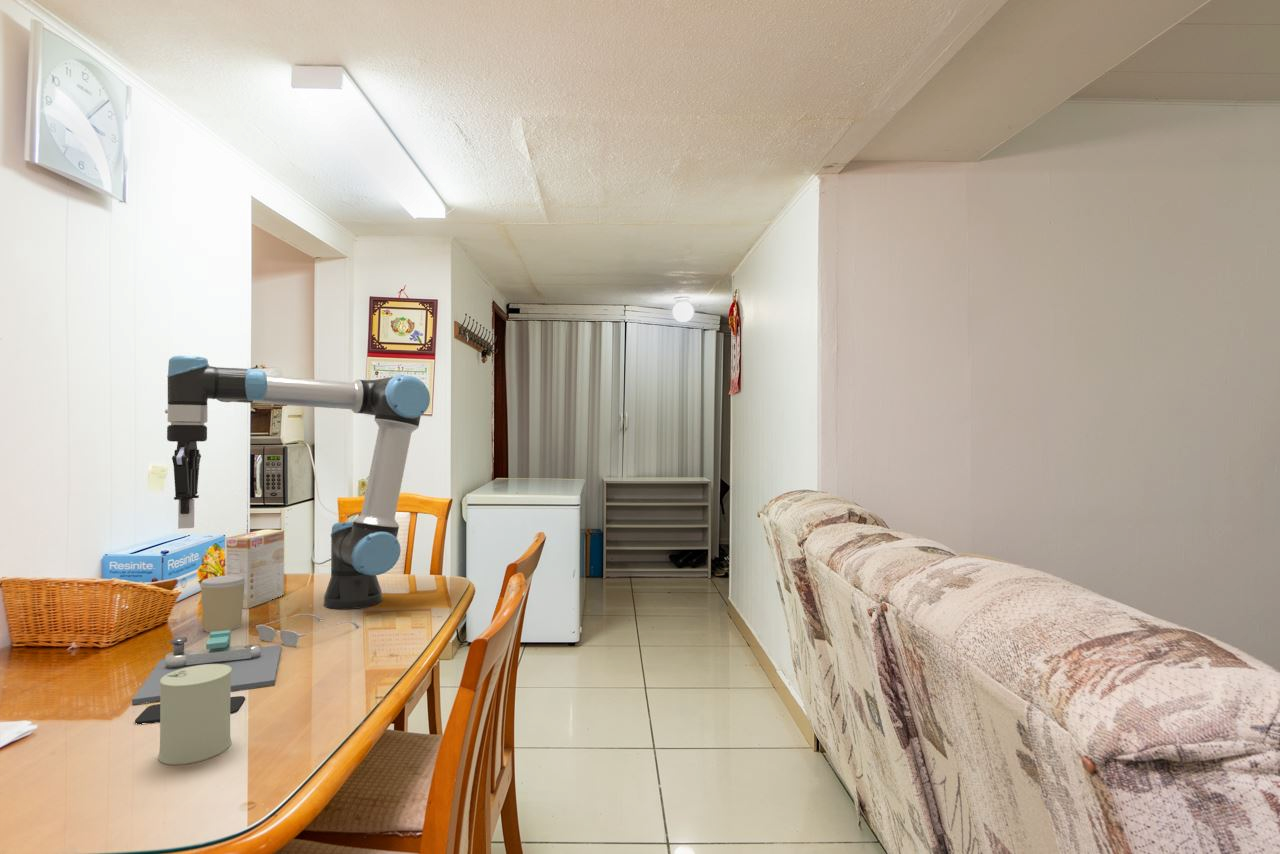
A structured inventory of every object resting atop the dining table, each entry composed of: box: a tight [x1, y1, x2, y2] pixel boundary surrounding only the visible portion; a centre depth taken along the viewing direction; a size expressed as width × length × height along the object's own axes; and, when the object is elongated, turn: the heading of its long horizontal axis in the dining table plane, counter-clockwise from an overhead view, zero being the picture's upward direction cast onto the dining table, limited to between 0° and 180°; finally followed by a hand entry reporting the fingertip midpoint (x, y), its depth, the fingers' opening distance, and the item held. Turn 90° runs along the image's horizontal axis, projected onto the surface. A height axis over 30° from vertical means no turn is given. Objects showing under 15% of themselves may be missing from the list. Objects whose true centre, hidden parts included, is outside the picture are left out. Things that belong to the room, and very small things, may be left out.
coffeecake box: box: [225, 528, 285, 610], centre depth 187 cm, size 15×7×20 cm, turn 172°
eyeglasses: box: [255, 613, 362, 648], centre depth 159 cm, size 15×18×4 cm
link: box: [164, 636, 262, 668], centre depth 136 cm, size 17×4×5 cm, turn 112°
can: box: [157, 664, 232, 766], centre depth 100 cm, size 9×9×12 cm
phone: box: [134, 695, 246, 725], centre depth 114 cm, size 7×1×15 cm
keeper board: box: [131, 630, 282, 706], centre depth 131 cm, size 22×23×6 cm
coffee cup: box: [199, 575, 245, 633], centre depth 162 cm, size 9×9×12 cm
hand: (186, 527), depth 150 cm, fingers closed
